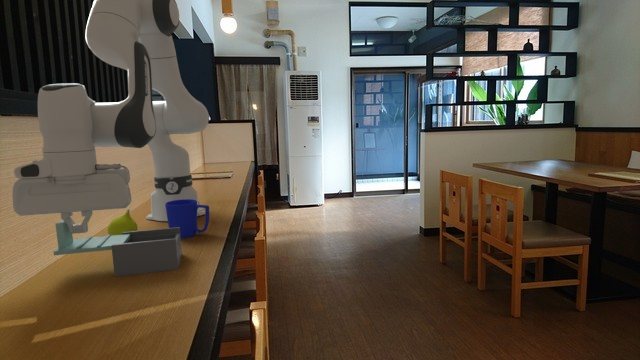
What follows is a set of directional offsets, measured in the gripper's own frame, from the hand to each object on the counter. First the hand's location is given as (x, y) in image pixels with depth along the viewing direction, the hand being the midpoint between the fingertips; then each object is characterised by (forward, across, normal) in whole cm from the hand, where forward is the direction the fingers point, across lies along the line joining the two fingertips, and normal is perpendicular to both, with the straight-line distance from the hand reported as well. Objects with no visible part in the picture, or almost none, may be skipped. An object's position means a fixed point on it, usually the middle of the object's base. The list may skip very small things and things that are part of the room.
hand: (79, 232), depth 77 cm
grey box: (+9, -13, 0) cm, 16 cm away
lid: (+3, -3, 0) cm, 4 cm away
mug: (+9, -20, -21) cm, 30 cm away
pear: (+9, -3, -23) cm, 25 cm away
